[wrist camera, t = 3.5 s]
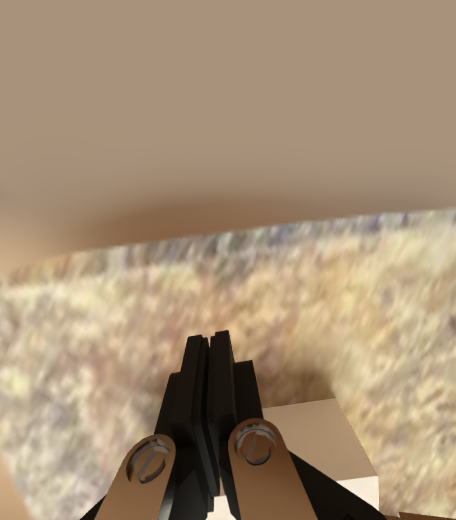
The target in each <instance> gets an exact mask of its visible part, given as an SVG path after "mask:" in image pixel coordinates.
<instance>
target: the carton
mask: <svg viewBox="0 0 456 520" xmlns="http://www.w3.org/2000/svg"><path fill="white" fill-rule="evenodd" d="M262 412H263V417H264V419H265V420H267V421H269V422H271V423H272V424H274V425H275V426H276V427H277V428H278V430H279V432H280V433H281V435H282V437H283V440H284V442H285V444H286V447H287V449H288V450H289V451H291V452H292V453H294V454H295V455H297V456H298V457H300V458H301V459H303V460H304V461H306V462H307V463H309V464H310V465H312V466H313V467H315V468H316V469H318V470H319V471H321V472H322V473H324V474H325V475H327V476H328V477H330V478H331V479H333V480H334V481H336V482H337V483H339V484H340V485H342V486H343V487H345V488H346V489H348V490H349V491H351V492H352V493H354V494H355V495H357V496H358V497H360V498H361V499H363V500H364V501H366V502H367V503H369V504H370V505H372V506H373V507H374V508H376V509H377V510H378V511H379V492H378V475H377V473H376V471H375V469H374V467H373V465H372V464H371V462H370V460H369V458H368V456H367V454H366V453H365V451H364V449H363V447H362V445H361V443H360V441H359V440H358V438H357V436H356V434H355V432H354V430H353V429H352V427H351V425H350V423H349V421H348V419H347V418H346V416H345V414H344V412H343V410H342V408H341V407H340V405H339V403H338V401H337V399H336V398H333V399H326V400H319V401H312V402H305V403H298V404H291V405H284V406H277V407H270V408H263V409H262ZM206 520H236V519H235V518H234V517H233V516H232V515H231V514H230V510H229V506H228V501H227V497H226V495H225V494H224V490H223V486H222V482H221V477H220V496H218V497H214V512H209V513H208V517H207V519H206Z"/></svg>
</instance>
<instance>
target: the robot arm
mask: <svg viewBox="0 0 456 520" xmlns="http://www.w3.org/2000/svg"><path fill="white" fill-rule="evenodd" d="M220 477H221V482H222V486H223V490H224V494H225V495H226V497H227V501H228V506H229V510H230V514H231V515H232V516H233V517H234V518H235V519H236V520H456V519H452V518H444V517H436V516H428V515H420V514H413V513H405V512H398V517H395V516H388V515H383V514H382V513H380V512H379V511H378V510H377V509H376V508H374V507H373V506H372V505H370V504H369V503H367V502H366V501H364V500H363V499H361V498H360V497H358V496H357V495H355V494H354V493H352V492H351V491H349V490H348V489H346V488H345V487H343V486H342V485H340V484H339V483H337V482H336V481H334V480H333V479H331V478H330V477H328V476H327V475H325V474H324V473H322V472H321V471H319V470H318V469H316V468H315V467H313V466H312V465H310V464H309V463H307V462H306V461H304V460H303V459H301V458H300V457H298V456H297V455H295V454H294V453H292V452H291V451H289V450H288V449H287V447H286V444H285V442H284V440H283V437H282V435H281V433H280V432H279V430H278V428H277V427H276V426H275V425H274V424H272V423H271V422H269V421H267V420H265V419H264V417H263V412H262V407H261V402H260V397H259V392H258V387H257V382H256V377H255V372H254V367H253V362H252V360H249V361H243V362H237V363H235V361H234V356H233V351H232V346H231V340H230V335H229V330H225V331H219V332H215V336H211V340H210V347H209V342H208V338H207V337H205V338H203V337H202V335H196V336H190V337H188V339H187V343H186V348H185V353H184V357H183V362H182V367H181V371H180V372H177V373H172V374H171V375H170V377H169V380H168V384H167V387H166V391H165V395H164V399H163V402H162V406H161V410H160V413H159V417H158V421H157V425H156V428H155V432H154V435H150V436H148V437H146V438H144V439H142V440H141V441H139V442H138V443H137V444H135V445H134V446H133V448H132V449H131V450H130V451H129V452H128V453H127V455H126V457H125V458H124V460H123V462H122V464H121V466H120V468H119V470H118V472H117V474H116V476H115V478H114V480H113V482H112V484H111V486H110V488H109V490H108V493H107V494H106V495H105V496H104V497H103V498H102V499H101V500H100V501H99V502H98V503H97V504H96V505H95V506H94V507H93V508H92V509H90V510H89V511H88V512H87V513H86V514H85V515H84V516H83V517H82V518H81V519H80V520H206V519H207V517H208V513H209V512H214V497H218V496H220Z"/></svg>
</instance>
